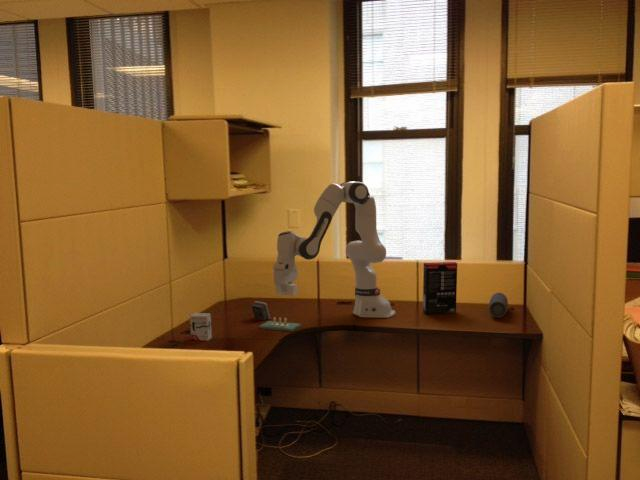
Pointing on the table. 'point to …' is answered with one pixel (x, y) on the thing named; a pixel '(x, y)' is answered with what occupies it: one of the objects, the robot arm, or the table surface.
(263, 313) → the electrical switch
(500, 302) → the bluetooth speaker
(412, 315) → the table surface
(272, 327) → the header board
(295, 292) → the block
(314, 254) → the robot arm
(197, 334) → the ink box
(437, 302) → the graphics card box
